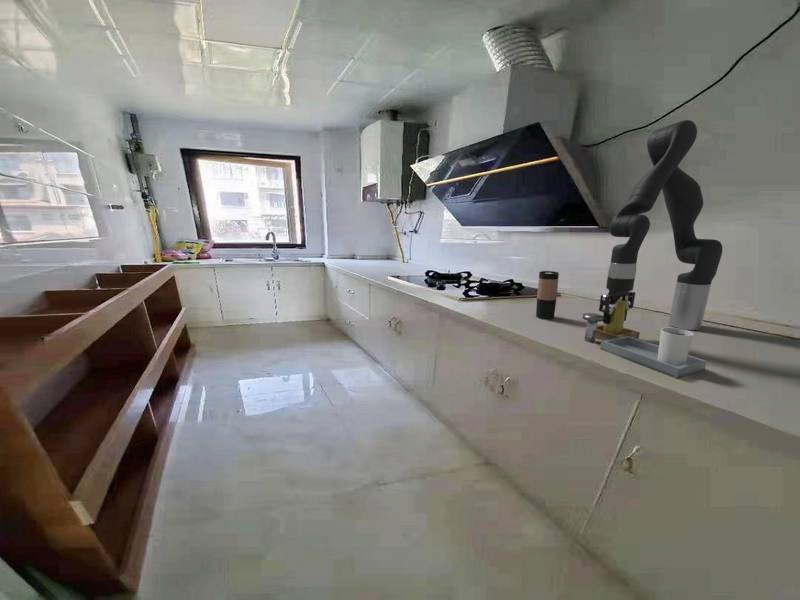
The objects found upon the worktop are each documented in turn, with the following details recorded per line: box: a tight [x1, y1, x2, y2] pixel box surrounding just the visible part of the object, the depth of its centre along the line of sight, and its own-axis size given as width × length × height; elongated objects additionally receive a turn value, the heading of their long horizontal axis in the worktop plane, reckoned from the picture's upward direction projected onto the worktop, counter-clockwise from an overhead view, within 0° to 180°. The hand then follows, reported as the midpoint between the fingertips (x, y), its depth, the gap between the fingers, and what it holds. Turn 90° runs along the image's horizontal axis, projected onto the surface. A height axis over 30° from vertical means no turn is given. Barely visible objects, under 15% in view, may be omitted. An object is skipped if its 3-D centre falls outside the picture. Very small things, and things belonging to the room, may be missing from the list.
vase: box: [603, 300, 627, 335], centre depth 105 cm, size 6×6×14 cm
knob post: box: [582, 312, 604, 343], centre depth 103 cm, size 6×6×9 cm
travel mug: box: [535, 270, 560, 321], centre depth 129 cm, size 8×8×20 cm
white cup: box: [657, 326, 694, 366], centre depth 83 cm, size 7×7×10 cm
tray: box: [599, 336, 708, 380], centre depth 89 cm, size 12×21×3 cm, turn 20°
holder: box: [595, 323, 641, 341], centre depth 106 cm, size 11×11×3 cm
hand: (614, 321), depth 105 cm, fingers open, 7 cm apart
